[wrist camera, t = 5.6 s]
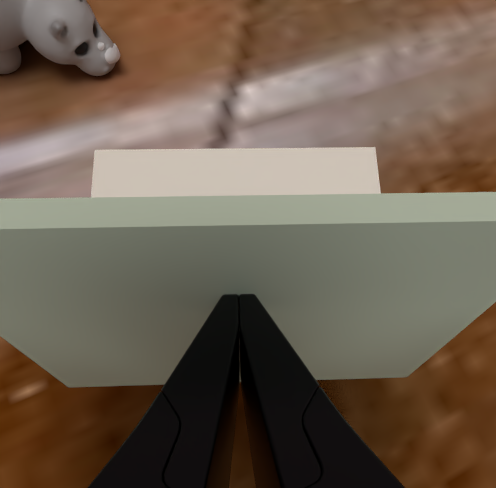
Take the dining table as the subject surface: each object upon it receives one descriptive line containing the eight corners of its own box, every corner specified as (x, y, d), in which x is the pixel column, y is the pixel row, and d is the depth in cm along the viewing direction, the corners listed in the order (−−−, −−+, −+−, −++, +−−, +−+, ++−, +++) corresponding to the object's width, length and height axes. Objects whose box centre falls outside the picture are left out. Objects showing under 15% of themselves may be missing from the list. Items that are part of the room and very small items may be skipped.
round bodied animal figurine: (96, 136, 26) (93, 77, 18) (-97, 45, 22) (-205, -80, 15) (134, 56, 28) (146, -30, 20) (-41, -42, 24) (-110, -197, 16)
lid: (401, 358, 15) (406, 377, 15) (73, 367, 15) (68, 387, 15) (569, 191, 8) (592, 219, 7) (-114, 200, 7) (-139, 231, 7)
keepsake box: (365, 351, 21) (404, 358, 16) (112, 358, 20) (72, 367, 15) (348, 183, 23) (378, 143, 18) (122, 185, 23) (91, 146, 18)
